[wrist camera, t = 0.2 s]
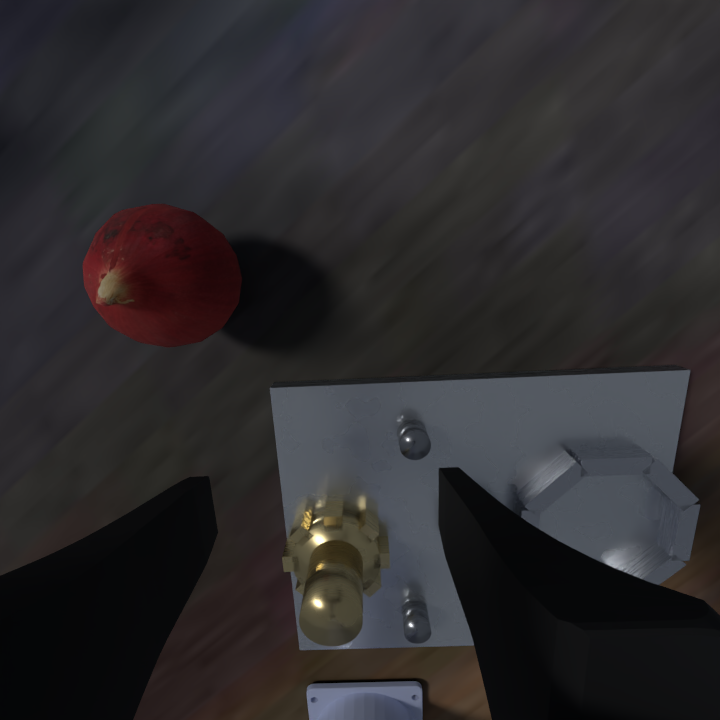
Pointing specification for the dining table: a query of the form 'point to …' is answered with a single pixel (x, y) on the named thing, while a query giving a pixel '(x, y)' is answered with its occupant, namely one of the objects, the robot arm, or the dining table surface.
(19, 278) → the dining table surface
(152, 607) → the robot arm
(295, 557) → the gear
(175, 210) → the onion
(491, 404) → the carrier plate
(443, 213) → the dining table surface
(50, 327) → the dining table surface
